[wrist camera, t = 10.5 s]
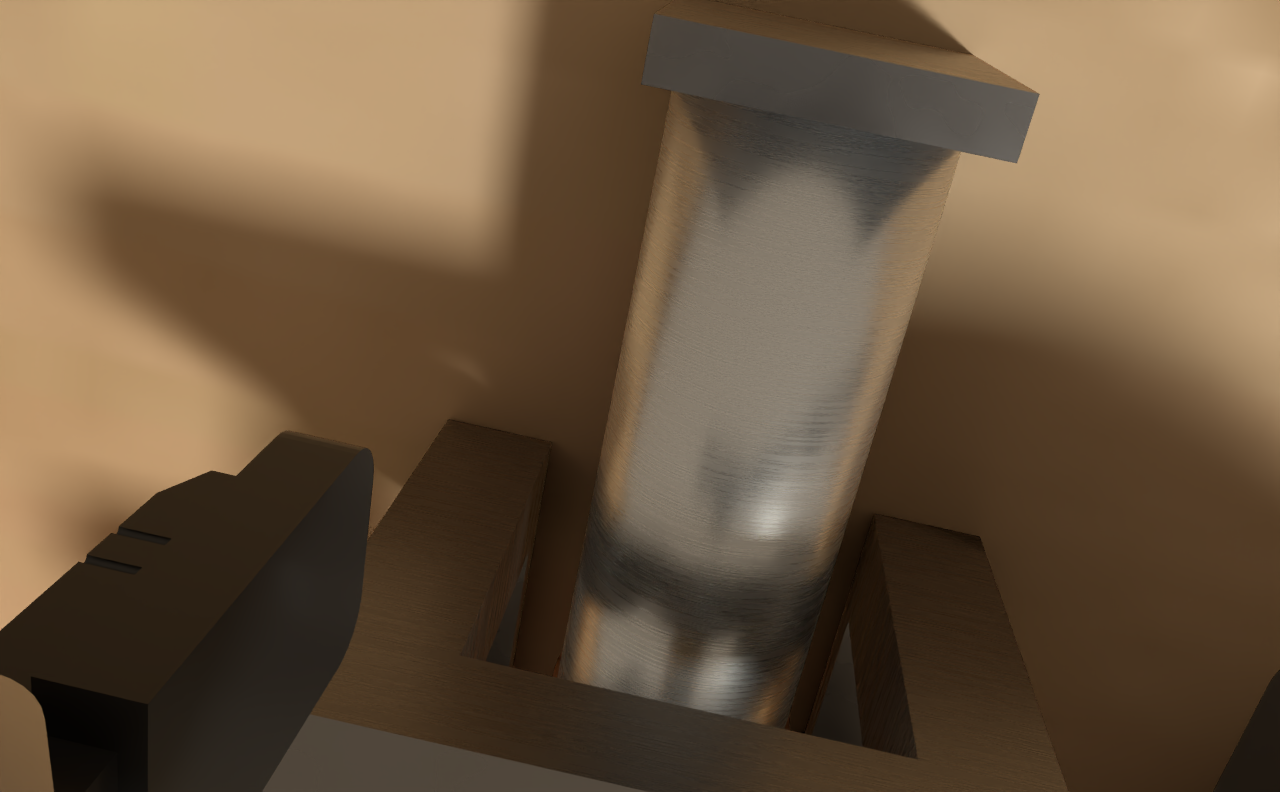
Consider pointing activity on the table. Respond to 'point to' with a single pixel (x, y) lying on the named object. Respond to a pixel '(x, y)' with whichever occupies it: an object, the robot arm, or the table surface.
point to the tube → (763, 340)
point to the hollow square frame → (637, 726)
